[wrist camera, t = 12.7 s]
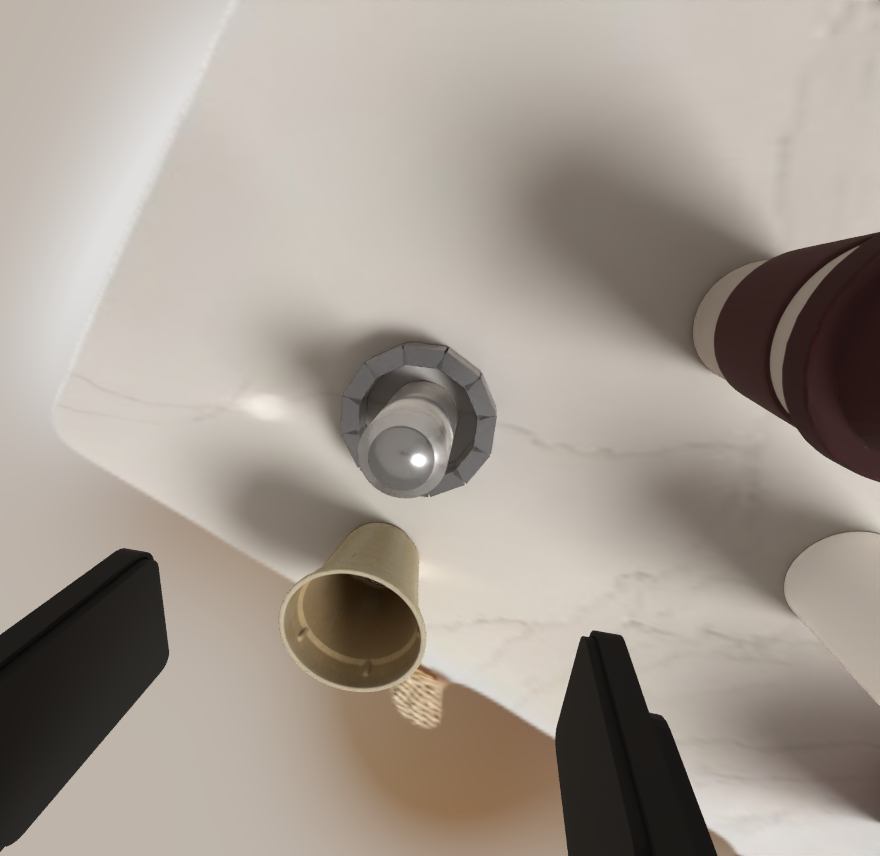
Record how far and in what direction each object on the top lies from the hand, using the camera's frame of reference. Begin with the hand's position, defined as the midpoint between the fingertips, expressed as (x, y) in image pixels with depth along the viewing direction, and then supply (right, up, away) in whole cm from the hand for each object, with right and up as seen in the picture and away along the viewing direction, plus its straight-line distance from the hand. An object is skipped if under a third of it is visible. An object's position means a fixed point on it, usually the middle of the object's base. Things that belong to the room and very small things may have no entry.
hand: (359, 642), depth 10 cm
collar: (0, +5, +23) cm, 23 cm away
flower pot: (-3, -6, +27) cm, 27 cm away
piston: (0, +6, +23) cm, 23 cm away
